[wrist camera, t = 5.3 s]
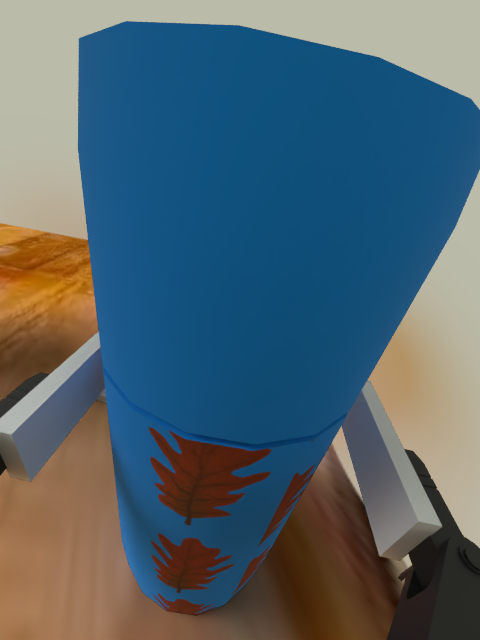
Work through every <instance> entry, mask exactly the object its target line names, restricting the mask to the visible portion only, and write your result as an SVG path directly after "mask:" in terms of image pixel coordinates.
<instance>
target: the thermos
mask: <svg viewBox="0 0 480 640" xmlns="http://www.w3.org/2000/svg"><path fill="white" fill-rule="evenodd" d="M78 97H79V98H78V105H79V106H78V153H79V162H80V170H81V180H82V188H83V197H84V206H85V214H86V224H87V232H88V242H89V250H90V259H91V268H92V277H93V286H94V295H95V303H96V312H97V321H98V330H99V339H100V348H101V357H102V365H103V374H104V383H105V392H106V401H107V410H108V419H109V427H110V436H111V445H112V454H113V463H114V472H115V480H116V489H117V498H118V507H119V516H120V525H121V534H122V542H123V546H124V549H125V553H126V556H127V560H128V564H129V566H130V568H131V570H132V572H133V574H134V576H135V578H136V580H137V582H138V584H139V586H140V588H141V590H142V592H143V593H144V594H145V595H147V596H148V597H149V598H151V599H152V600H153V601H154V602H156V603H157V604H158V605H159V606H161V607H162V608H163V609H164V610H166V611H170V612H176V613H183V614H190V615H198V614H201V613H204V612H207V611H209V610H212V609H215V608H217V607H220V606H223V605H225V604H226V603H227V602H228V601H229V600H230V599H231V598H232V597H233V596H234V595H235V594H236V593H237V592H238V591H239V590H240V589H241V588H242V587H243V586H244V585H245V584H246V583H247V582H248V581H249V579H250V578H251V577H252V576H253V574H254V573H255V572H256V571H257V569H258V568H259V567H260V566H261V564H262V563H263V561H264V559H265V558H266V556H267V554H268V552H269V551H270V549H271V547H272V545H273V544H274V542H275V540H276V539H277V537H278V535H279V533H280V532H281V530H282V528H283V526H284V525H285V523H286V521H287V519H288V518H289V516H290V514H291V512H292V511H293V509H294V507H295V505H296V504H297V502H298V500H299V498H300V497H301V495H302V493H303V491H304V490H305V488H306V486H307V484H308V483H309V481H310V479H311V478H312V476H313V474H314V472H315V471H316V469H317V467H318V465H319V464H320V462H321V460H322V458H323V457H324V455H325V453H326V451H327V450H328V448H329V446H330V444H331V443H332V441H333V439H334V437H335V436H336V434H337V432H338V430H339V429H340V427H341V425H342V424H343V422H344V420H345V418H346V417H347V414H348V412H349V411H350V410H351V408H352V406H353V404H354V403H355V401H356V399H357V397H358V396H359V394H360V392H361V390H362V389H363V387H364V385H365V383H366V382H367V380H368V378H369V376H370V375H371V373H372V371H373V369H374V368H375V366H376V364H377V362H378V361H379V359H380V357H381V356H382V354H383V352H384V350H385V349H386V347H387V345H388V343H389V341H390V340H391V338H392V336H393V334H394V333H395V331H396V329H397V327H398V326H399V324H400V322H401V321H402V319H403V317H404V315H405V314H406V312H407V310H408V309H409V307H410V305H411V303H412V301H413V300H414V298H415V296H416V294H417V293H418V291H419V289H420V288H421V286H422V284H423V282H424V281H425V279H426V277H427V275H428V274H429V272H430V270H431V268H432V267H433V265H434V263H435V261H436V260H437V258H438V256H439V254H440V253H441V251H442V249H443V248H444V246H445V244H446V242H447V240H448V239H449V237H450V235H451V234H452V232H453V230H454V228H455V226H456V224H457V222H458V219H459V217H460V214H461V212H462V210H463V207H464V205H465V203H466V200H467V198H468V196H469V193H470V191H471V188H472V186H473V184H474V181H475V179H476V177H477V174H478V172H479V170H480V110H479V109H478V107H477V106H476V105H475V104H474V102H473V101H472V100H471V99H470V98H468V97H465V96H463V95H461V94H459V93H457V92H454V91H452V90H450V89H448V88H445V87H443V86H441V85H439V84H437V83H434V82H432V81H430V80H428V79H425V78H423V77H421V76H419V75H417V74H415V73H412V72H410V71H408V70H406V69H403V68H401V67H399V66H397V65H395V64H392V63H390V62H388V61H386V60H383V59H381V58H379V57H375V56H371V55H366V54H362V53H357V52H353V51H348V50H344V49H340V48H335V47H331V46H327V45H322V44H318V43H313V42H309V41H304V40H300V39H296V38H292V37H287V36H282V35H278V34H274V33H269V32H265V31H261V30H256V29H252V28H248V27H243V26H238V25H210V24H182V23H156V22H129V21H126V22H123V23H120V24H117V25H115V26H112V27H109V28H106V29H103V30H101V31H98V32H95V33H92V34H90V35H87V36H84V37H82V38H79V92H78Z"/></svg>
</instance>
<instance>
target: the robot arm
mask: <svg viewBox="0 0 480 640" xmlns="http://www.w3.org/2000/svg"><path fill="white" fill-rule="evenodd" d="M104 389H105V383H104V374H103V365H102V357H101V348H100V339H99V331H98V332H97V333H96V334H95V335H94V336H93V337H92V338H90V339H89V340H88V341H87V342H86V343H85V344H84V345H83V346H81V347H80V348H79V349H78V350H77V351H76V352H75V353H73V354H72V355H71V356H70V357H69V358H68V359H67V360H66V361H64V362H63V363H62V364H61V365H60V366H59V367H58V368H57V369H55V370H54V371H53V372H52V373H51V374H45V373H39V374H37V375H35V376H33V377H31V378H29V379H27V380H26V381H24V382H23V383H22V384H21V385H20V386H18V387H17V388H16V390H15V391H12V392H11V393H10V394H9V395H7V396H6V398H5V399H3V400H1V401H0V475H1V474H2V473H3V472H4V470H5V469H7V471H8V473H9V475H10V477H11V478H16V479H21V480H25V481H30V482H31V481H32V480H33V478H34V477H35V476H36V475H37V473H38V472H39V471H40V469H41V468H42V467H43V466H44V464H45V463H46V462H47V461H48V459H49V458H50V457H51V456H52V454H53V453H54V452H55V451H56V449H57V448H58V447H59V446H60V444H61V443H62V442H63V440H64V439H65V438H66V437H67V435H68V434H69V433H70V432H71V430H72V429H73V428H74V427H75V425H76V424H77V423H78V422H79V420H80V419H81V418H82V416H83V415H84V414H85V413H86V411H87V410H88V409H89V408H90V406H91V405H92V404H93V403H94V401H95V400H96V399H97V398H98V396H99V395H100V394H101V393H102V391H103V390H104ZM342 429H343V432H344V436H345V439H346V442H347V446H348V449H349V453H350V456H351V460H352V463H353V467H354V470H355V473H356V477H357V480H358V484H359V487H360V491H361V494H362V498H363V501H364V505H365V508H366V512H367V515H368V519H369V522H370V525H371V529H372V532H373V536H374V539H375V543H376V546H377V550H378V553H379V556H381V557H385V558H390V559H395V560H399V561H400V560H401V559H402V558H404V557H405V556H406V555H407V554H409V557H410V560H411V562H412V566H411V567H409V568H408V569H407V570H405V571H404V572H403V573H401V574H400V576H399V577H398V578H399V579H400V580H401V581H402V580H403V579H405V578H406V580H405V583H404V586H403V589H402V593H401V596H400V599H399V602H398V605H397V609H396V612H395V615H394V618H393V622H392V625H391V628H390V631H389V634H388V638H387V640H480V548H478V546H477V545H475V544H474V543H473V542H471V541H470V540H468V539H467V538H465V537H464V536H463V535H462V533H461V531H460V530H459V528H458V526H457V524H456V522H455V520H454V518H453V517H452V515H451V513H450V511H449V509H448V507H447V506H446V504H445V502H444V500H443V498H442V496H441V494H440V492H439V491H438V490H437V487H436V485H435V483H434V481H433V480H432V479H431V476H430V474H429V472H428V470H427V468H426V467H425V465H424V463H423V462H422V461H421V460H420V458H419V457H418V456H417V455H416V454H415V453H414V452H413V451H410V450H406V449H404V448H403V446H402V444H401V442H400V440H399V438H398V436H397V434H396V432H395V430H394V428H393V426H392V424H391V422H390V420H389V418H388V416H387V413H386V412H385V410H384V408H383V405H382V403H381V401H380V399H379V397H378V395H377V393H376V391H375V389H374V387H373V385H372V383H371V381H368V380H367V382H366V383H365V385H364V387H363V389H362V390H361V392H360V394H359V396H358V397H357V399H356V401H355V403H354V404H353V406H352V408H351V410H350V411H349V412H348V414H347V417H346V418H345V420H344V422H343V424H342Z"/></svg>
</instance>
